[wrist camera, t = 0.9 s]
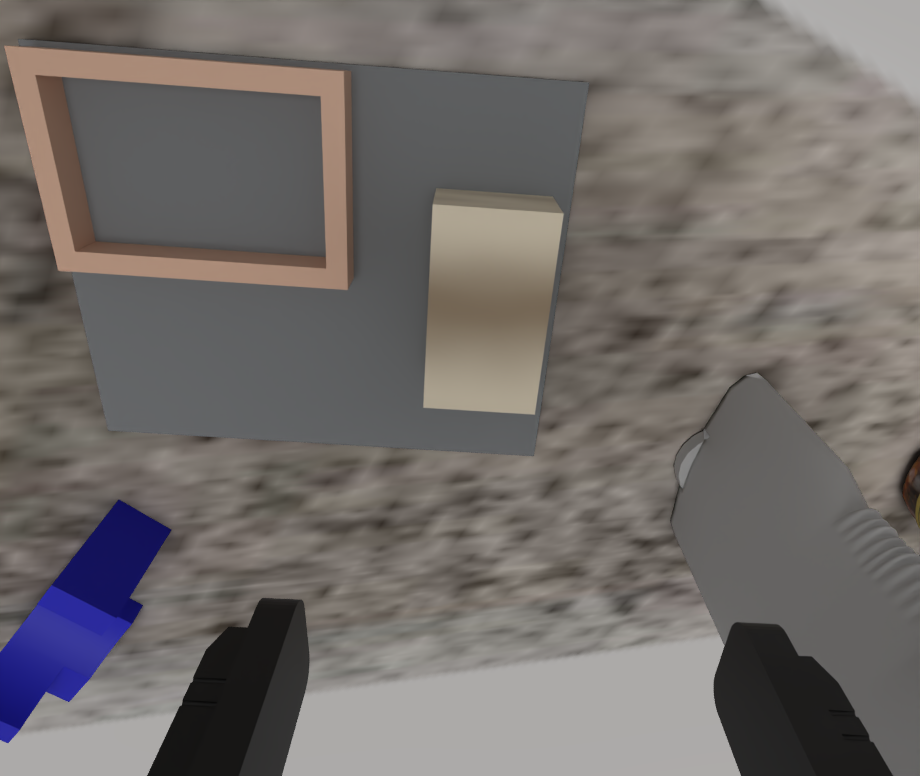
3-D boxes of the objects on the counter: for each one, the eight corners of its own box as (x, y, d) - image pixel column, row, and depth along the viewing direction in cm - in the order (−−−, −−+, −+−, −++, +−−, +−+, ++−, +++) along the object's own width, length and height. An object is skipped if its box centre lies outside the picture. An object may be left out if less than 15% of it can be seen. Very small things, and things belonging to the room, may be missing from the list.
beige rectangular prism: (528, 380, 28) (534, 414, 25) (427, 374, 28) (423, 407, 25) (552, 196, 24) (563, 213, 21) (436, 188, 24) (432, 204, 21)
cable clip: (97, 656, 37) (36, 755, 32) (24, 621, 36) (-51, 718, 31) (198, 542, 33) (147, 634, 28) (120, 497, 32) (51, 585, 26)
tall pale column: (715, 549, 33) (1079, 1257, 13) (640, 537, 33) (904, 1247, 13) (804, 372, 28) (1576, 1084, 9) (717, 356, 28) (1317, 1061, 8)
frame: (79, 259, 25) (58, 270, 24) (32, 46, 22) (4, 45, 20) (353, 277, 26) (347, 290, 24) (351, 70, 22) (343, 71, 21)
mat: (113, 424, 30) (108, 430, 29) (26, 39, 22) (17, 38, 22) (532, 450, 30) (533, 456, 30) (586, 82, 23) (589, 82, 22)
